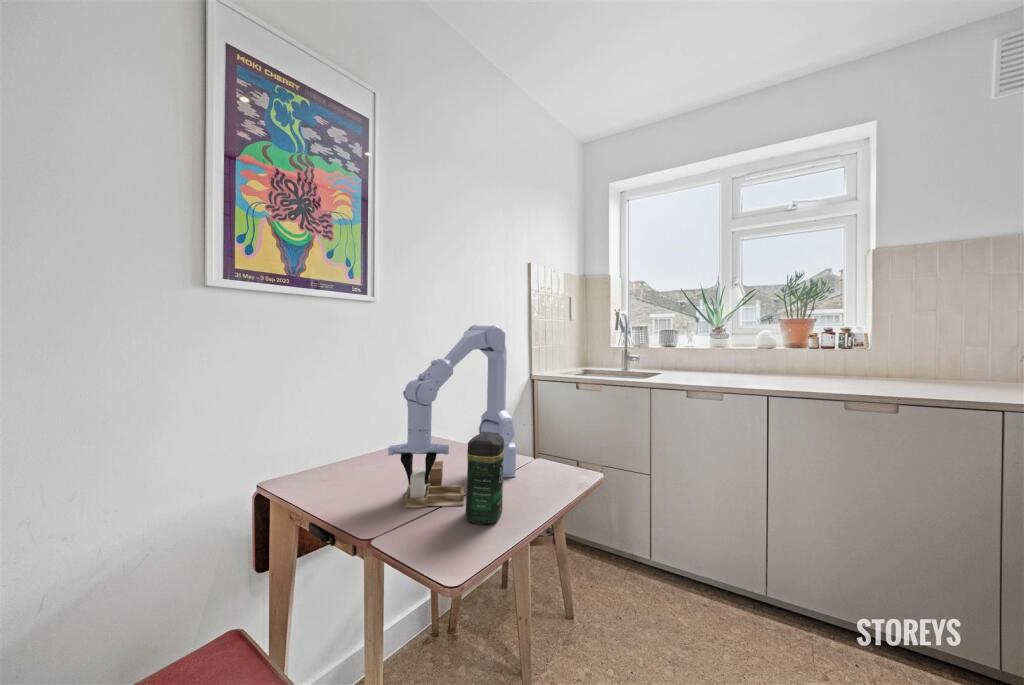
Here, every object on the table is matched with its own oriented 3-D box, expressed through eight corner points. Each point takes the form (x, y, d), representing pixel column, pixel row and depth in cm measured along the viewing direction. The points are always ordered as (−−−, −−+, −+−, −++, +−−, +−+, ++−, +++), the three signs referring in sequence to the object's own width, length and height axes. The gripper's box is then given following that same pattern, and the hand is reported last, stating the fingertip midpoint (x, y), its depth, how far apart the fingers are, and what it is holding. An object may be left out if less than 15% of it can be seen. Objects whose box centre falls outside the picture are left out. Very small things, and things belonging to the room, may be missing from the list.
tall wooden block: (441, 486, 107) (441, 468, 107) (429, 486, 106) (429, 468, 106) (442, 477, 113) (442, 460, 113) (431, 477, 113) (431, 461, 113)
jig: (463, 489, 105) (463, 482, 105) (463, 505, 95) (463, 498, 95) (409, 490, 103) (409, 483, 103) (403, 507, 93) (403, 500, 93)
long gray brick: (426, 486, 102) (426, 467, 102) (423, 497, 95) (424, 477, 95) (413, 486, 102) (414, 467, 102) (410, 498, 95) (410, 477, 95)
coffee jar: (497, 528, 85) (499, 441, 84) (461, 524, 86) (463, 439, 85) (505, 508, 94) (507, 430, 94) (473, 505, 95) (475, 428, 95)
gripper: (386, 432, 93) (385, 490, 93) (448, 432, 95) (447, 488, 95) (391, 425, 100) (390, 479, 100) (449, 425, 102) (448, 477, 102)
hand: (418, 483), depth 98 cm, fingers closed on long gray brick, 3 cm apart
